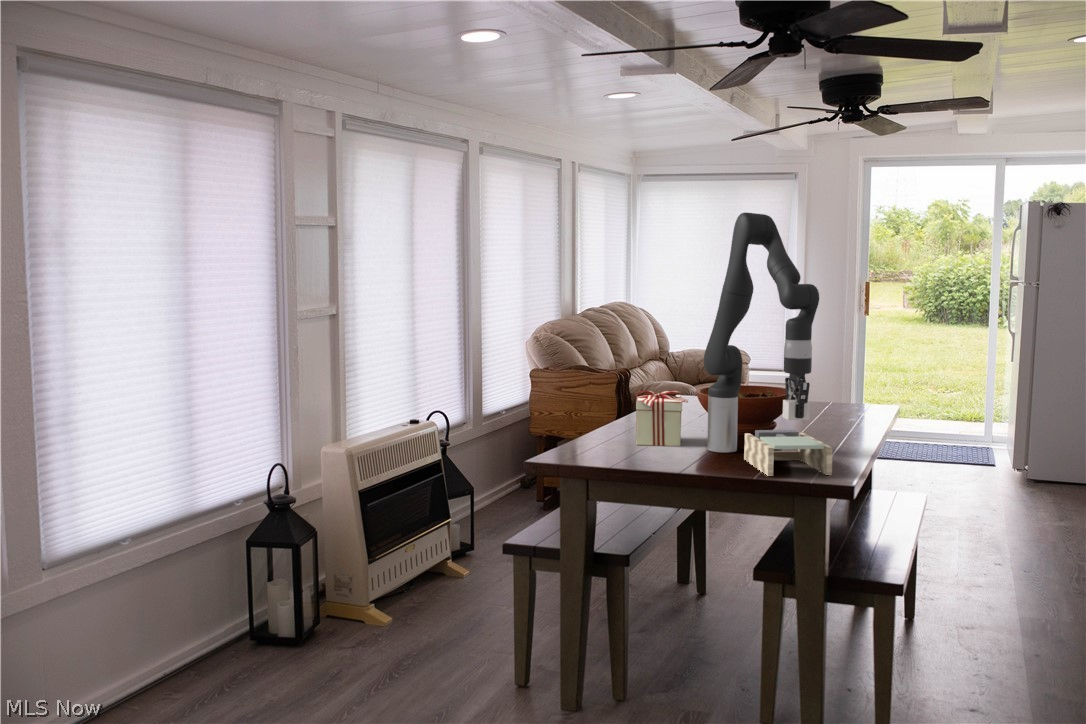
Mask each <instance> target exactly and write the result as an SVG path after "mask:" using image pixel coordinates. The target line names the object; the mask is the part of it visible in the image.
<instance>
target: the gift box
mask: <svg viewBox="0 0 1086 724" xmlns="http://www.w3.org/2000/svg"><path fill="white" fill-rule="evenodd" d="M634 393H635V396H636V402H635V403H636V404H635V406H636V407H635V410H636V413H635V414H636V415H635V418H636V421H635V423H636V424H635V427H636V428H635V430H636V432H635V433H636V435H635V443H636V444H635V445H637V446H651V447H652V446H653V447H655V446H656V447H681V438H682V437H681V435H682V434H681V433H682V432H681V431H682V430H681V429H682V412H683V403H689V399H686V398H682V392H680V391H678V390H672V391H668V390H663V391H662V392H660V393H659V392H658V393H656V392H654V391H652V390H639V391H636V392H634Z"/></svg>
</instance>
